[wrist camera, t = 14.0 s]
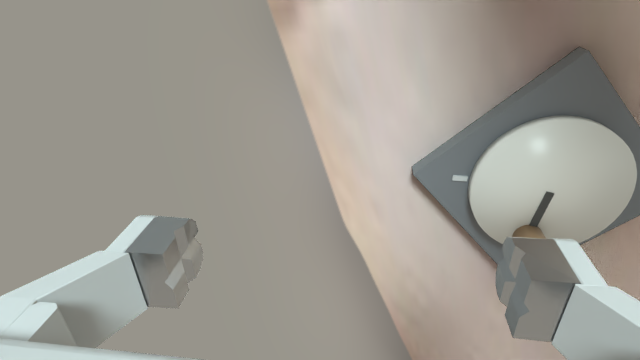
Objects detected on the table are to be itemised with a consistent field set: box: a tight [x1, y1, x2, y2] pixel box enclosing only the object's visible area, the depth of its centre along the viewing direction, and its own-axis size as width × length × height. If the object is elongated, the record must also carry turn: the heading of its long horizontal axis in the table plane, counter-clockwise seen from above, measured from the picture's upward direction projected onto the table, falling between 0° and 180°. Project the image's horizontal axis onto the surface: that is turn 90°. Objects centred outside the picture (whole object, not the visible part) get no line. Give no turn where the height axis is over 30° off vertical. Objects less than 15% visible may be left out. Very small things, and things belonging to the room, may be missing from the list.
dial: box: [468, 116, 637, 244], centre depth 40 cm, size 16×16×6 cm
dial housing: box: [412, 47, 640, 264], centre depth 44 cm, size 20×20×2 cm
